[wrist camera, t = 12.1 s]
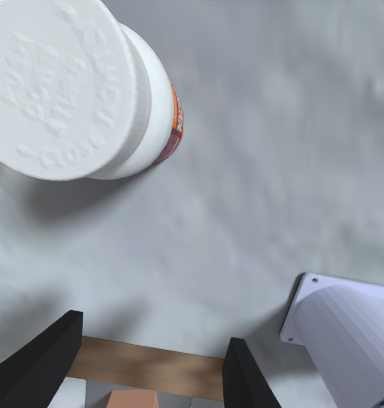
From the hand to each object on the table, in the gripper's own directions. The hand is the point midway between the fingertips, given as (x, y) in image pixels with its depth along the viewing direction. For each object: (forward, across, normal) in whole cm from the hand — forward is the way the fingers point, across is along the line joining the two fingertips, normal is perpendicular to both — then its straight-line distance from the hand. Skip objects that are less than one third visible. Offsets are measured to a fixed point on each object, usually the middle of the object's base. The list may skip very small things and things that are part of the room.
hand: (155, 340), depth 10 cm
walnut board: (+9, +1, +13) cm, 16 cm away
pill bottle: (+10, +4, -10) cm, 14 cm away
